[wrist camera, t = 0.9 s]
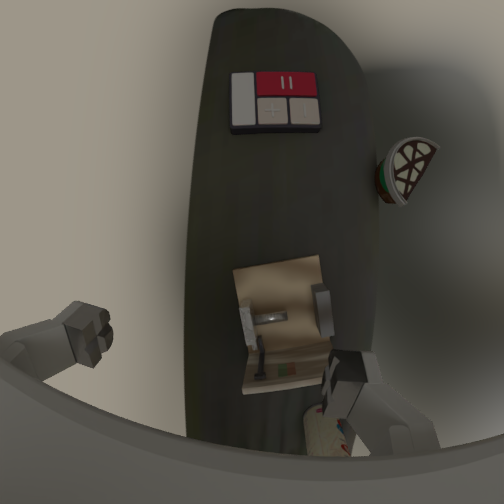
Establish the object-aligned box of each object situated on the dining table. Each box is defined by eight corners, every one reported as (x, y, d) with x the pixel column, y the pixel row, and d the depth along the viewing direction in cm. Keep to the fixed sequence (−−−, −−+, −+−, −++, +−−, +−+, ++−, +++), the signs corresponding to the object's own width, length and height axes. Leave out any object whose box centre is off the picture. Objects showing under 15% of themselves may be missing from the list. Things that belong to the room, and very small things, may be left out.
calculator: (323, 126, 43) (229, 127, 44) (318, 134, 48) (231, 135, 48) (317, 69, 42) (228, 70, 43) (313, 80, 47) (230, 81, 47)
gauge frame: (328, 343, 49) (345, 379, 36) (250, 356, 51) (243, 395, 37) (317, 254, 48) (333, 264, 35) (233, 268, 50) (219, 284, 36)
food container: (390, 135, 46) (412, 118, 36) (415, 158, 46) (442, 145, 36) (354, 187, 47) (373, 178, 37) (381, 210, 47) (405, 206, 37)
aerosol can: (337, 424, 51) (357, 493, 31) (305, 431, 51) (313, 502, 32) (335, 399, 50) (358, 469, 30) (300, 406, 51) (309, 479, 31)
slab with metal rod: (291, 340, 48) (293, 352, 43) (251, 346, 48) (249, 358, 43) (283, 293, 47) (284, 300, 42) (242, 300, 48) (238, 308, 43)
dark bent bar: (267, 350, 48) (265, 378, 38) (258, 351, 48) (254, 379, 38) (264, 334, 48) (262, 359, 38) (255, 335, 48) (250, 361, 38)
